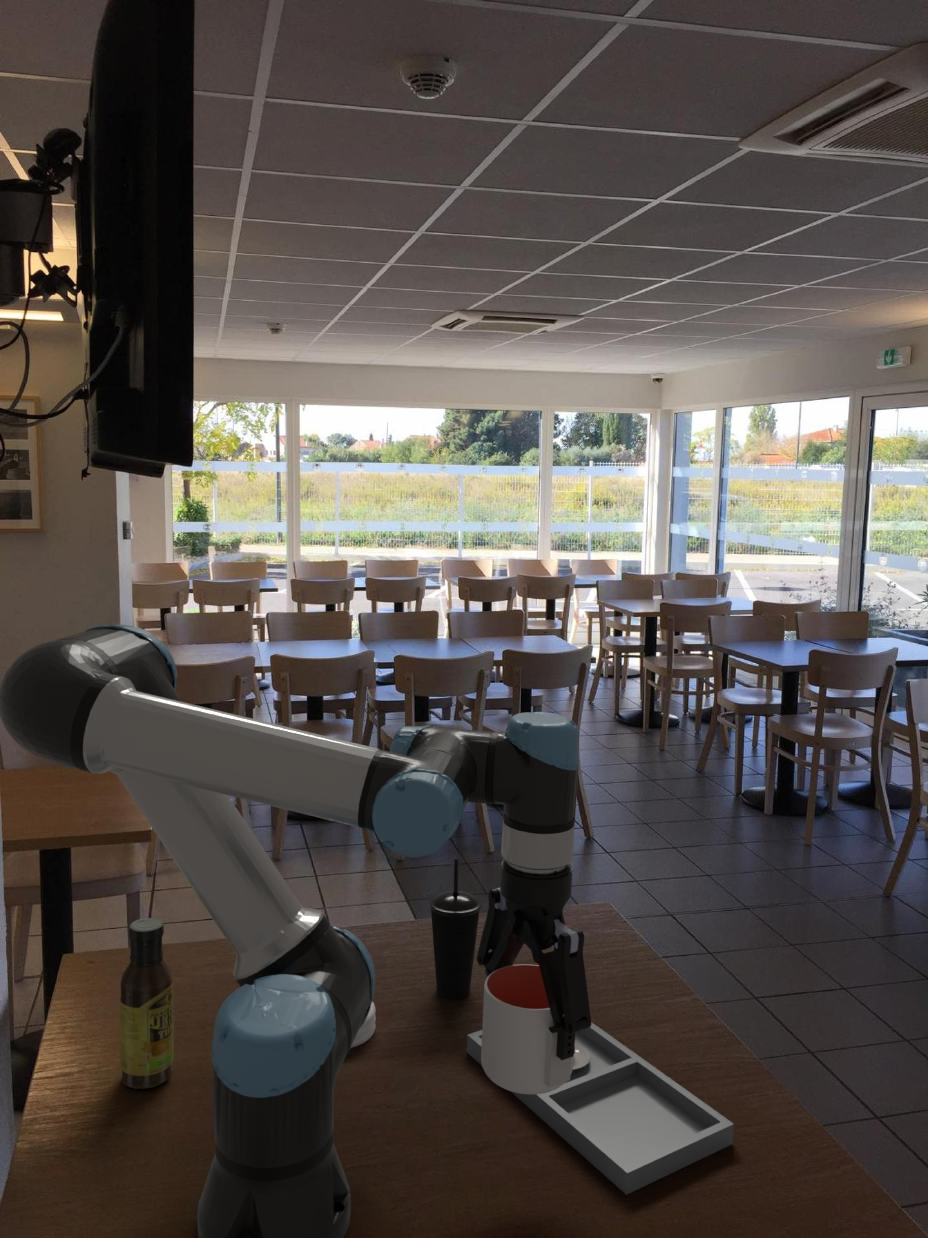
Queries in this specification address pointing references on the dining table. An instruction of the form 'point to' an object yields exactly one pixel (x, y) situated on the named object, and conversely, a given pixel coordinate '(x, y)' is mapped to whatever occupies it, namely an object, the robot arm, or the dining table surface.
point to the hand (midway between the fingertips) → (527, 1057)
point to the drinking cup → (454, 938)
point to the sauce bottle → (146, 1009)
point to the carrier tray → (626, 1114)
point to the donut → (580, 1057)
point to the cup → (516, 1029)
